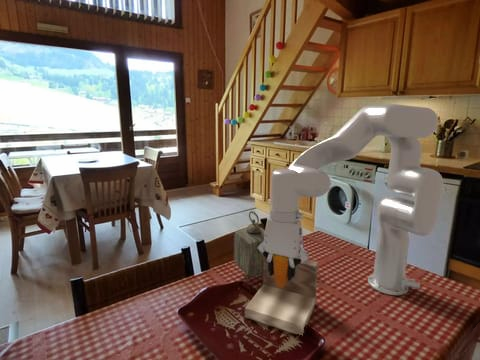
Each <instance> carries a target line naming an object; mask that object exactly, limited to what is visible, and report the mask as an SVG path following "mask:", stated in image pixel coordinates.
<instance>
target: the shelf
mask: <svg viewBox="0 0 480 360" xmlns="http://www.w3.org/2000/svg"><path fill="white" fill-rule="evenodd" d="M297 258H298V257H297ZM262 259H264V273H263V277H262V279H263V280H262V281H263V282H262V285H261V286H260V288H259V289H258V290H257V292H256V293H255V295H253V296H252V299H251V300H250V301H249V302H248V304H247V305H246V306H245V308H244V318H246V319H249V320H252V321H256V322H258V323H262V324H264V325H268V326H271V327H274V328H276V329H279V330H283V331H285V332H289V333H292V334H295V335H297V334H299V336H300V335H302V336H301V337H303V335H304V334H303V333H305V331H304V327H305V325H307V326H308V324H309V321H310V318H311V316H312V314H313V311H314V308H315V306H316V303H317V290H318V289H317V286H318V271H319V262H318V261H315V260H311V259H309V258H308V259H309V260H308V259H307V260H305V261H303V262H301V263H299V264H298V265H297V266H296V267H295V276H294V277H292V279H291V281H289V280H287V282H286V284H285V286H284V287H283V289H281V290H280V289H279V287H278V285H277V283H276V281H275V277H274V274H273V275H272V276H269V271H268V262H267V259H266V258H265V256H264V255H263V253H262Z"/></svg>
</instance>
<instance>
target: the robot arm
mask: <svg viewBox="0 0 480 360" xmlns="http://www.w3.org/2000/svg"><path fill="white" fill-rule="evenodd" d="M438 125H439V117H438V115H437V113H436V111H434V110H433V109H432V108H430V107H425V106H414V105H406V104H398V103H397V104H396V103H390V104H389V103H387V104H386V103H383V104H369V105H365V106H364V107H362V108H360V109H359V110H358V111H357V112H356V113H355V114H354V115H353V116H352V117H350V119H349V120H348V121H347V122H346V123H345V124H343V126H342V127H340V129H338V131H337V132H335V133H334V135H332V136H331V137H329V138H327V139H324V140H322V141H321V142H319V143H317V144H315V145H313V146H311V147H310V148H308V149H306V150H305V151H303V152H302V153H301V154H300V155H299V156H298V157H296V158H295V160H294V161H293V162H292V163H291V164H290V165H289V167H288V168H278V169H274V170H273V171H272V173H271V176H270V200H269V201H270V205H269V206H270V207H269V209H270V210H269V216H268V217H267V220H266V224H265V229H264V230H265V235H264V241H263V242H262V243H261V244H260V245H259V246H258V249H259V250H260V251H261V252H262V253H263V255H264V256H265V258H266V259H267V262H268V271H269V276H272V275H273V274H274V271H273V255H274V254H276V255H281V256H285V257H288V258H289V263H290V266H289V267H288V280H289V281H291V279H292V277H294V276H295V267H296V266H297V265H298V264H299V263H301V262H303V261H305V260H307V259H309V254H308V253H307V251H306V250H305V248H304V242H303V241H304V240H303V225H302V219H304V213H301V212H300V209H299V203H300V197H302V198H303V197H305V198H306V197H307V198H319V197H322V196H324V195H326V194H327V193H328V191H329V190H330V189H331V185H332V181H331V177H330V176H329V174H327V173H326V172H325V171H324V170H321V168H323V167H325V166H328V165H330V164H333V163H339V162H345V161H348V160H351V159H353V158H356V157H357V156H358V155H359V154H360V153H361V152H362V151H363V149H364V148H366V147H367V145H368V144H369V143H371V142H372V141H373V139H375V138H376V137H377V136H380V137H382V136H384V137H386V139H387V141H388V143H389V146H390V158H389V163H388V164H389V165H388V169H387V177H386V187H387V188H388V189H389V190H390V191H392V192H394V193H397V194H399V195H403V196H407V197H409V198H414V200H411V199H407V198H404V197H400V196H396V195H389V196H385V197H383V198H382V199H380V200H379V202H378V205H377V208H376V214H377V215H376V217H377V225H378V226H377V240H376V249H375V256H374V257H375V258H374V267H373V273H372V274H370V275H368V277H367V283H368V284H369V286H370V287H371V288H373V289H374V290H376V291H377V292H380V293H383V294H385V295H389V296H401V295H405V294H407V293H408V292H409V288H412V289H417V290H420V288H421V283H420V282H417V281H416V279H414V278H408V276H407V275H406V269H407V261H408V254H409V247H410V235H409V233H410V234H414V235H417V236H421V237H424V236H428V235H429V234H431V233H432V232H433V231H434V229H435V227H436V225H437V221H438V218H439V212H440V207H441V202H442V198H443V192H444V180H443V176H442V175H441V174H440V172H439V171H437V170H435V169H433V168H428V167H422V166H421V160H422V159H421V157H422V153H423V152H422V151H423V150H422V145H421V142H420V139H427V138H428V137H430V136H432V135H433V134H435V133H434V132H436V130H437V128H438ZM302 246H303V247H302ZM299 253H300V254H301V257H298V255H299ZM297 257H298V258H297Z"/></svg>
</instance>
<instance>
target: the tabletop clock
mask: <svg viewBox="0 0 480 360" xmlns="http://www.w3.org/2000/svg"><path fill="white" fill-rule="evenodd" d="M251 214H253V215H254V216H255V218H256V219H257V222H256V219H252V218H251ZM248 218H249V221H250V222H251V223H250V224H248V225H247V226H246V227H245V228H239V229H238V230H236V231H235V232H234V234H233V259H234V262H235V264H236V266H237V267H238V268H239V269H240V270H241V271H242V272H243V273H244V274H245V275H244V278H245V280H246V281H247V280H250V277H256V276H261V277H262V278H263V273H264V259H262V252H261V251H260V250H259V249H258V246H259V245H260V244H261V243H262V242H263V241H264V235H265V229H263V228H262V227H260V225H259V224H260V223H259V222H260V220H259V219H260V218H259V215H258V214H257V213H256V212H255V211H253V210H251V211H249V213H248Z"/></svg>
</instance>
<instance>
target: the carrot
mask: <svg viewBox="0 0 480 360" xmlns="http://www.w3.org/2000/svg"><path fill="white" fill-rule="evenodd" d="M289 266H290V263H289V258H288V257H285V256H281V255H276V254H274V255H273V271H274V277H275V281H276V283H277V285H278V287H279V289H280V290H281V289H283V287H284V286H285V284H286V282H287V280H288V267H289Z"/></svg>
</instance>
